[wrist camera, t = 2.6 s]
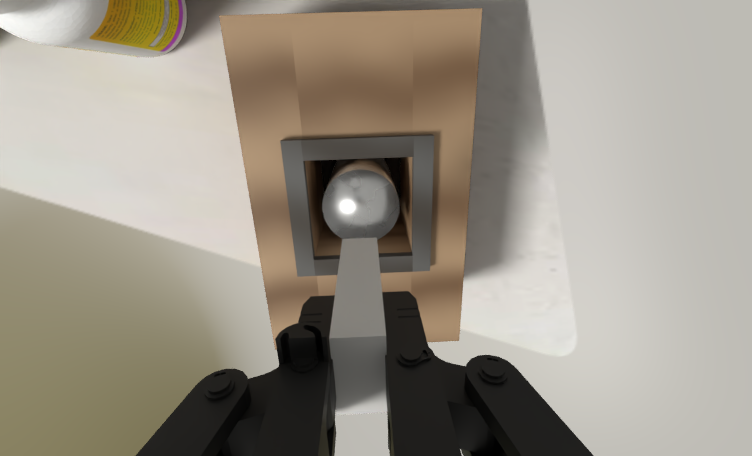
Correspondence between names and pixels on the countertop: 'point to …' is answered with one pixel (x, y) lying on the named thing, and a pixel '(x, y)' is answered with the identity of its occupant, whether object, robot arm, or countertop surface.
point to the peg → (361, 199)
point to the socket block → (358, 145)
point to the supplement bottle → (98, 24)
